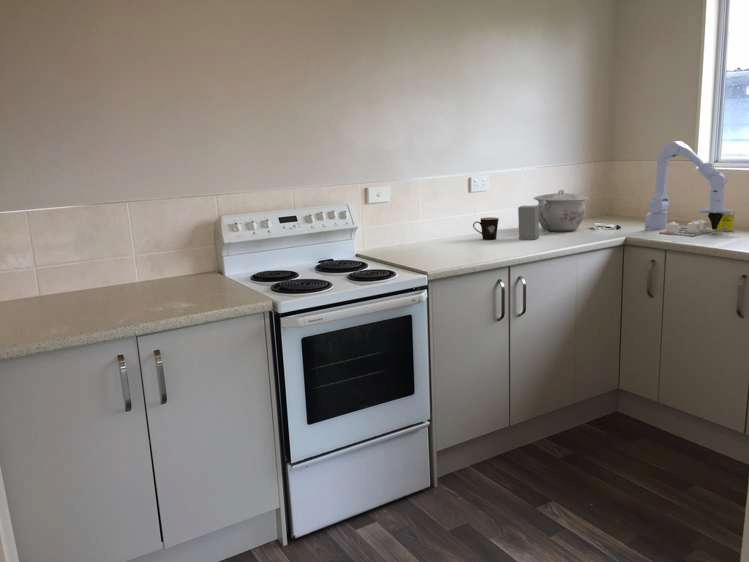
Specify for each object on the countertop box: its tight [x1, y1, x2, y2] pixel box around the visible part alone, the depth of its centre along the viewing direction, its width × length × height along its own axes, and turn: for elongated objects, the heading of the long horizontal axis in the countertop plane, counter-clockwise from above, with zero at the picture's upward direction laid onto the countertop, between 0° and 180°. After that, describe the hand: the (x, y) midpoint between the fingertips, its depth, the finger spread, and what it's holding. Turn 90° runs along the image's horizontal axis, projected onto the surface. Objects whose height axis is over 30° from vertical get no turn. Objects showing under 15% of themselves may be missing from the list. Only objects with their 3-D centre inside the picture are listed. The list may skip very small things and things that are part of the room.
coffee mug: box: [472, 216, 500, 241], centre depth 319 cm, size 12×9×10 cm
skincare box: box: [517, 204, 540, 240], centre depth 315 cm, size 8×7×16 cm
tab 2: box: [696, 219, 708, 231], centre depth 314 cm, size 4×4×5 cm
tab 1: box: [665, 221, 680, 234], centre depth 310 cm, size 4×4×5 cm
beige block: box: [686, 220, 700, 233], centre depth 310 cm, size 4×4×5 cm
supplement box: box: [715, 210, 735, 232], centre depth 315 cm, size 6×6×11 cm
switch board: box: [658, 226, 718, 238], centre depth 312 cm, size 16×24×2 cm, turn 130°
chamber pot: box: [533, 189, 590, 233], centre depth 341 cm, size 28×28×21 cm
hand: (714, 229), depth 309 cm, fingers closed
